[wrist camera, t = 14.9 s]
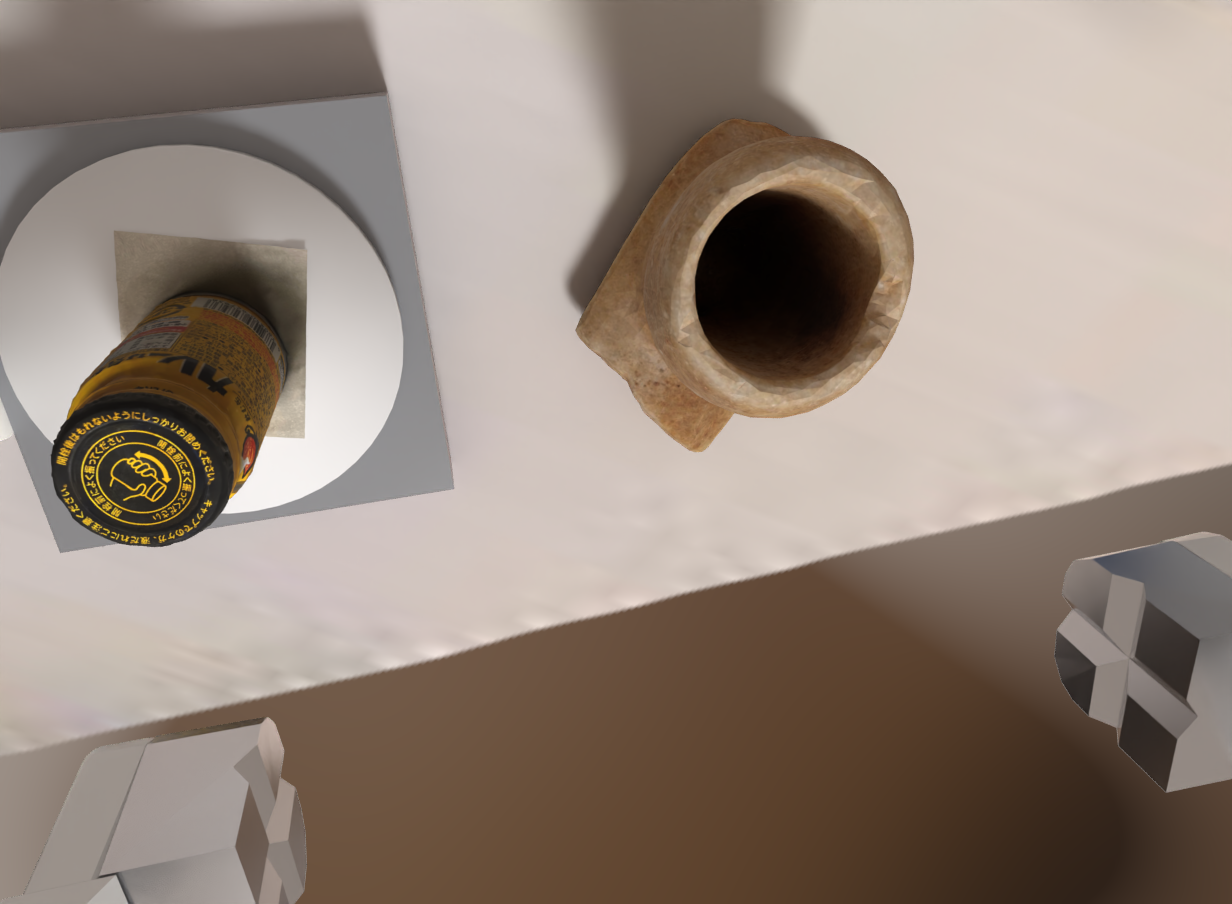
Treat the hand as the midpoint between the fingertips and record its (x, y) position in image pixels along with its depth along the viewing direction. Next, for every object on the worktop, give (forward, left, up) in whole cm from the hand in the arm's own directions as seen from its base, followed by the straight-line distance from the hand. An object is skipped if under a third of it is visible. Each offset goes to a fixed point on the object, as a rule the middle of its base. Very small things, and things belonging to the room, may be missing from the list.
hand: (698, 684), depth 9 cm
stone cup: (+5, +10, -37) cm, 39 cm away
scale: (+5, -12, -37) cm, 39 cm away
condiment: (+5, -12, -33) cm, 36 cm away
